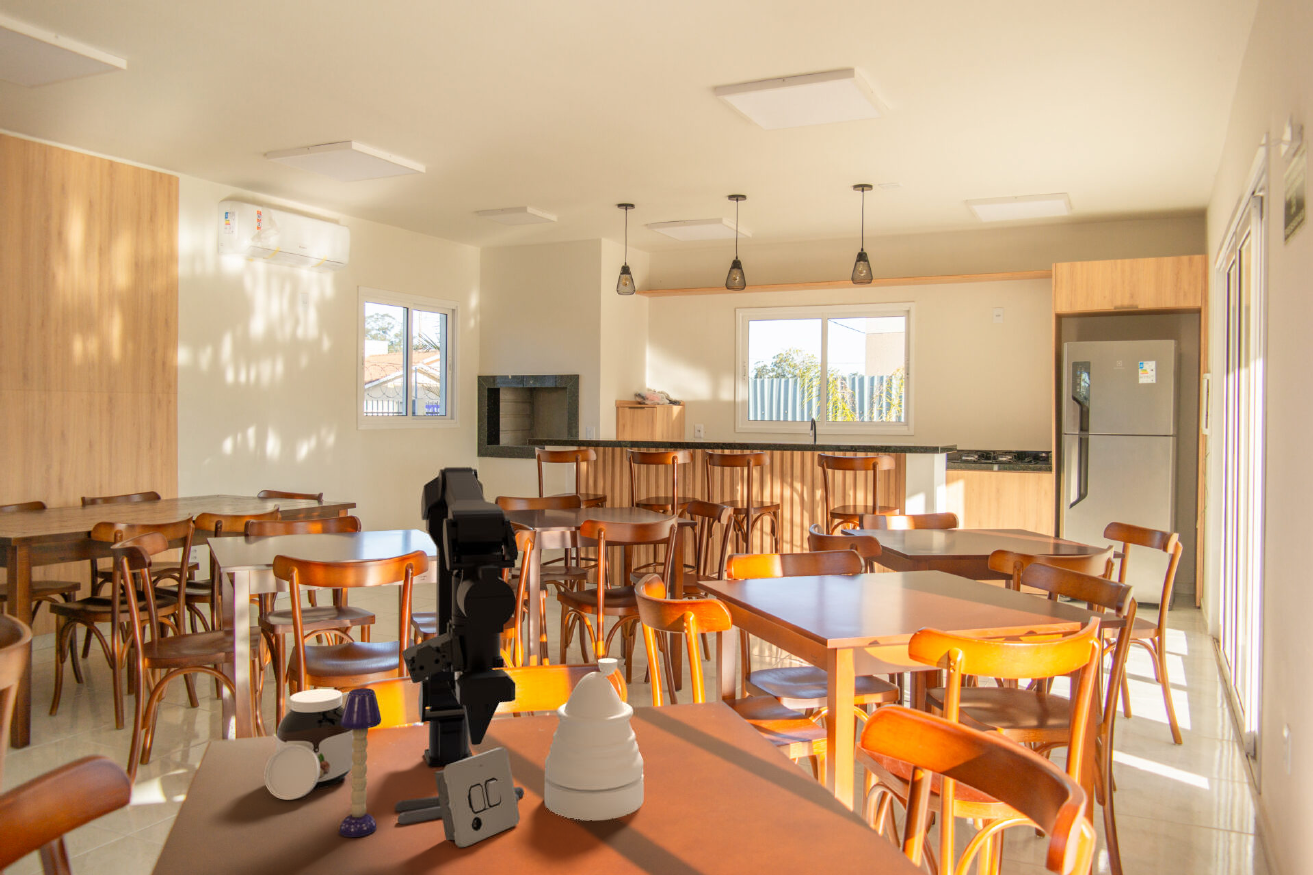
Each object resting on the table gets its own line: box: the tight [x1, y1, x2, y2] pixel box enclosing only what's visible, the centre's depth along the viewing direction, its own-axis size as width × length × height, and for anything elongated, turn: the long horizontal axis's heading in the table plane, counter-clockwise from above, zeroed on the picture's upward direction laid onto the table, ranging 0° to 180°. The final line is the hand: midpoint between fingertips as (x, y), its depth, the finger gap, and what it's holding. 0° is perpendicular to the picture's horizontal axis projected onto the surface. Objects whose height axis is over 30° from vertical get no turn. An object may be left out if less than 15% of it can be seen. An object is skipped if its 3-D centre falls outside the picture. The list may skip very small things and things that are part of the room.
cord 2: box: [397, 794, 520, 825], centre depth 118 cm, size 1×15×1 cm, turn 117°
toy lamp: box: [339, 687, 382, 838], centre depth 113 cm, size 5×5×17 cm
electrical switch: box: [434, 747, 521, 848], centre depth 113 cm, size 9×5×9 cm, turn 141°
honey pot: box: [544, 657, 644, 822], centre depth 122 cm, size 13×13×18 cm
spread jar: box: [263, 688, 354, 801], centre depth 127 cm, size 12×11×12 cm
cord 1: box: [394, 786, 525, 813], centre depth 121 cm, size 1×16×1 cm, turn 109°
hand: (475, 743), depth 112 cm, fingers closed
